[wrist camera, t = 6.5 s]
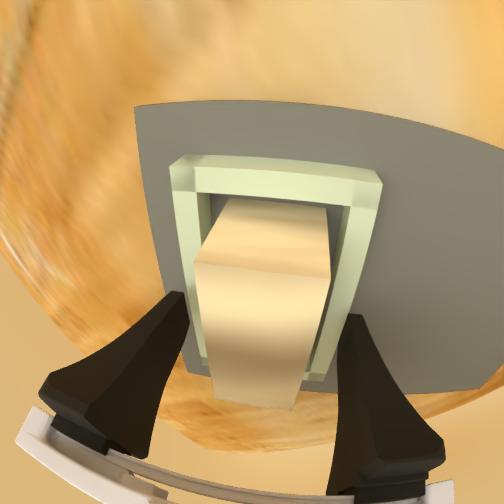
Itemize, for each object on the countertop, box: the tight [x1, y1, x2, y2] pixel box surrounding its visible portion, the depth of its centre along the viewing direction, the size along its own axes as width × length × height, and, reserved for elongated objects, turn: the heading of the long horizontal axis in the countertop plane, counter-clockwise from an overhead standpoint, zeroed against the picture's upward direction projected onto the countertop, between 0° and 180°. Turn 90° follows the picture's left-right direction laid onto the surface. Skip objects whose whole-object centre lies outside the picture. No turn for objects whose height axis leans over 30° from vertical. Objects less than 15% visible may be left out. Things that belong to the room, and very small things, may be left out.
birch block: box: [193, 198, 331, 411], centre depth 13 cm, size 9×4×4 cm, turn 179°
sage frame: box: [169, 155, 383, 382], centre depth 14 cm, size 8×13×2 cm, turn 179°
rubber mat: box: [134, 100, 504, 394], centre depth 14 cm, size 26×19×1 cm
